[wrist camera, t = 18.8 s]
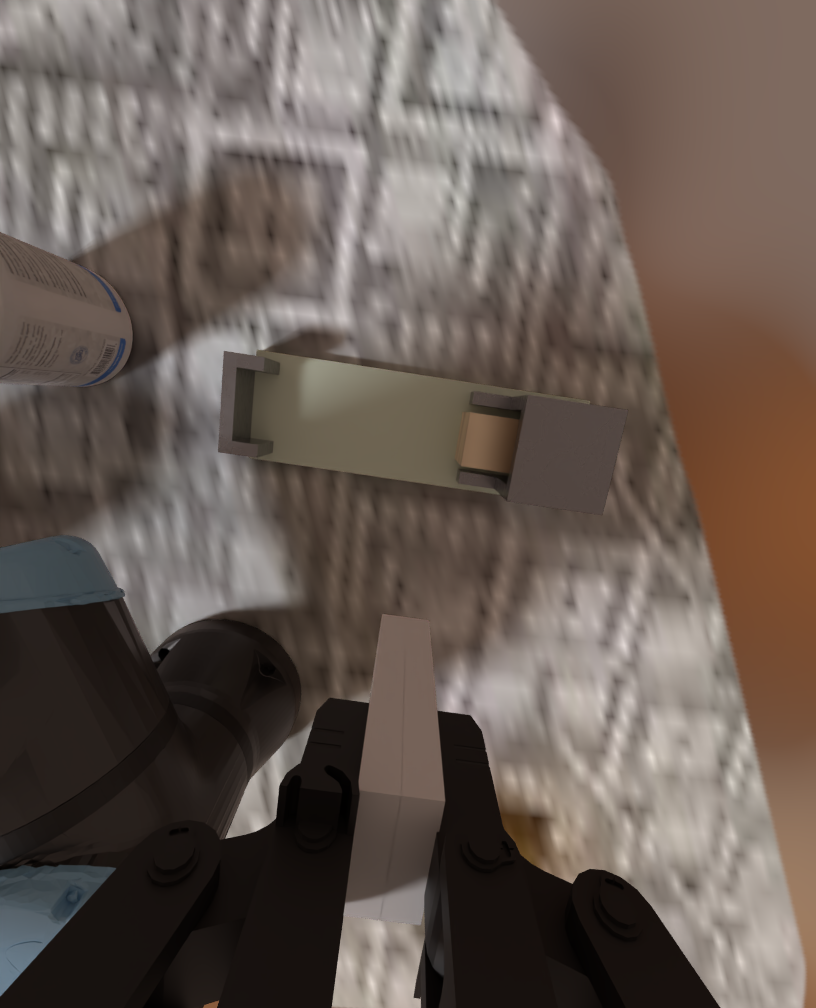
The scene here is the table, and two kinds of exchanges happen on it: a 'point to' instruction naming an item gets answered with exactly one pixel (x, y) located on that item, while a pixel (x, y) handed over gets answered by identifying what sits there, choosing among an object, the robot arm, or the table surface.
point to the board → (368, 419)
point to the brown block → (486, 441)
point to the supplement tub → (58, 320)
